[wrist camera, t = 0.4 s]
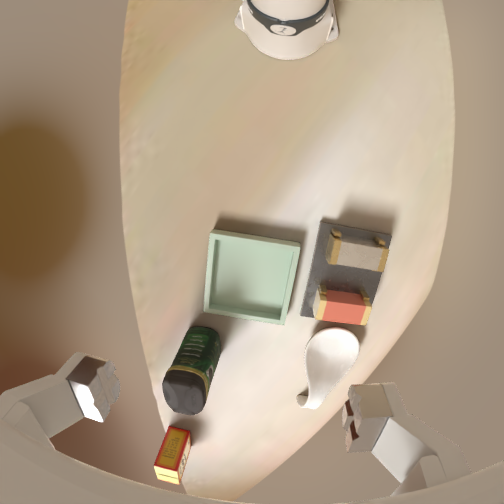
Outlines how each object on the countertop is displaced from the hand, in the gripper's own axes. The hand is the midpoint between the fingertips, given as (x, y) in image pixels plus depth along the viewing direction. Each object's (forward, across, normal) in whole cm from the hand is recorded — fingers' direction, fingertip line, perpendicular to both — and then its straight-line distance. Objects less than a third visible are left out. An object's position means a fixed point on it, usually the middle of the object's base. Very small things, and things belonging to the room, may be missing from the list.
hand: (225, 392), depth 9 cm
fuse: (+45, -15, +19) cm, 51 cm away
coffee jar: (+46, +13, +32) cm, 58 cm away
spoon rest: (+47, -14, +36) cm, 60 cm away
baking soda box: (+47, +23, +71) cm, 88 cm away
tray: (+46, +3, +15) cm, 48 cm away
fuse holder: (+46, -15, +14) cm, 50 cm away
